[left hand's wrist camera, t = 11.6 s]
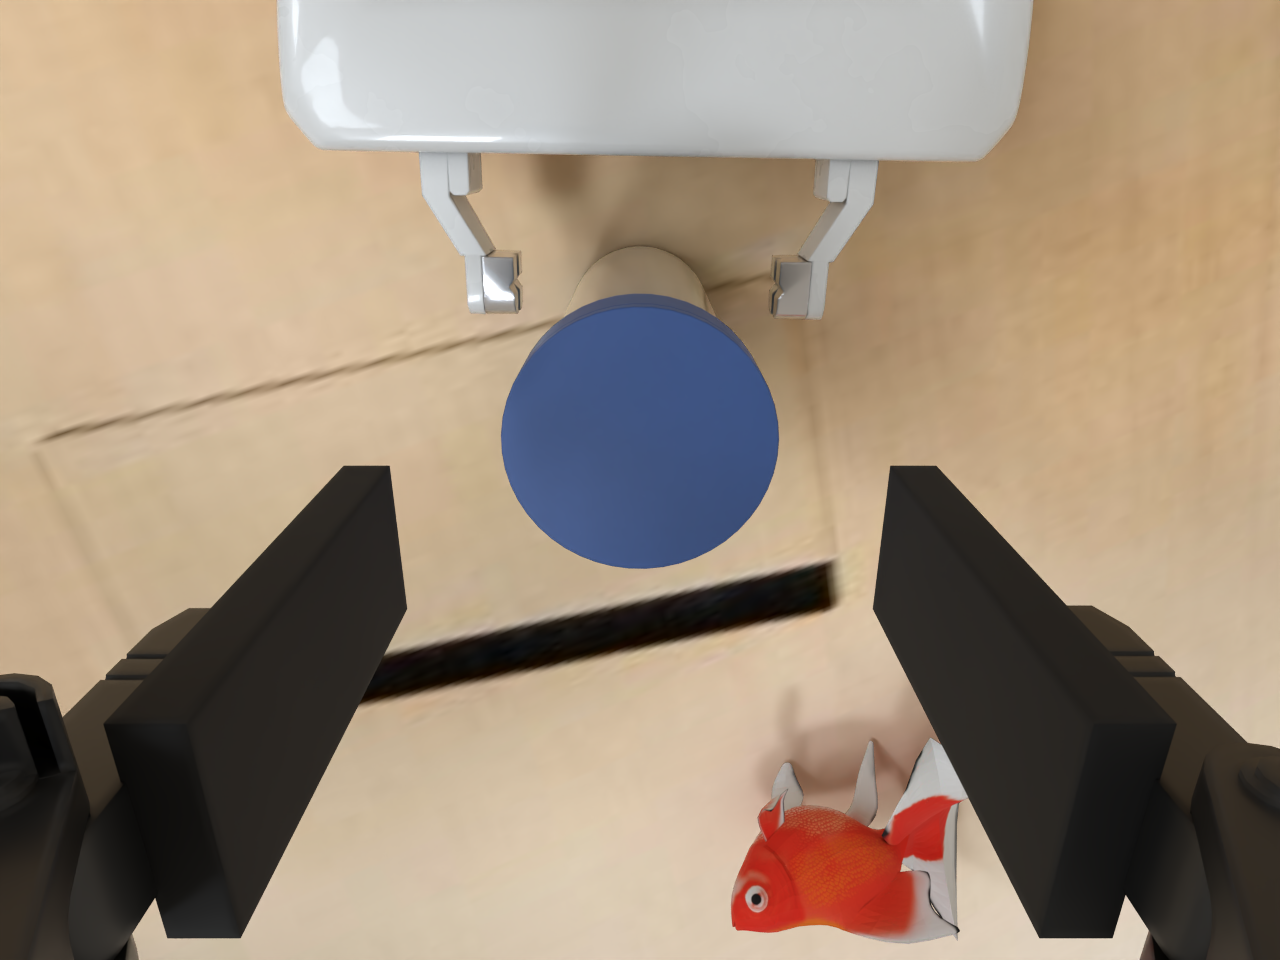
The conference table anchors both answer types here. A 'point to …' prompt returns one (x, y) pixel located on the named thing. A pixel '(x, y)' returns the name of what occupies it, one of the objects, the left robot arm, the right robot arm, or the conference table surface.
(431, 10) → the right robot arm
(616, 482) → the lid
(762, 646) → the conference table surface
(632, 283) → the jar
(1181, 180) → the conference table surface
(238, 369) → the conference table surface
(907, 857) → the fish
